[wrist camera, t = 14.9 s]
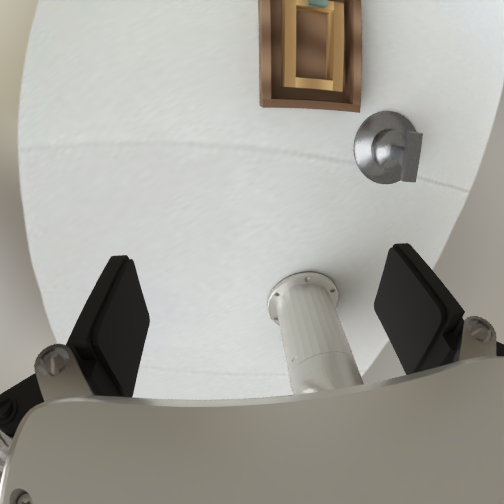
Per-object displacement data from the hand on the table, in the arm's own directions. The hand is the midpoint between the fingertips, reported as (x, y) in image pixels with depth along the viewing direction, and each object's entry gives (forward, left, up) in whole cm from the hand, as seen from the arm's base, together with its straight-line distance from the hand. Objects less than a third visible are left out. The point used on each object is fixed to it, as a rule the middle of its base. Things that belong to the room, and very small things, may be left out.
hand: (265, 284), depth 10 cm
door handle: (-1, -21, -30) cm, 37 cm away
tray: (+13, -8, -30) cm, 34 cm away
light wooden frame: (+13, -9, -30) cm, 33 cm away
